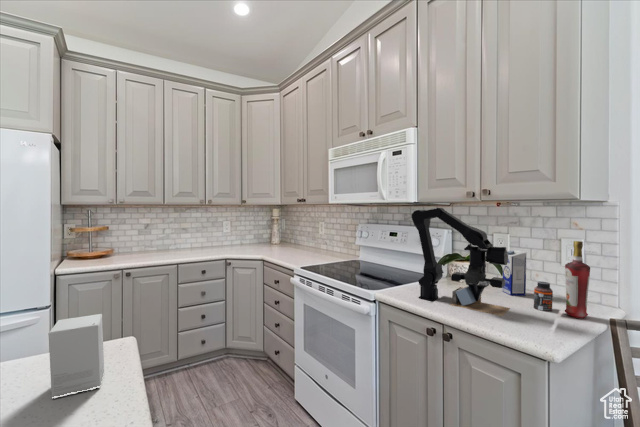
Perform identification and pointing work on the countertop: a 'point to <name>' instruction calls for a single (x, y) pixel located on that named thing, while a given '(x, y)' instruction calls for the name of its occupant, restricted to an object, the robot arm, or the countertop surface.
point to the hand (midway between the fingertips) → (477, 300)
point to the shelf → (479, 305)
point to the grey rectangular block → (465, 295)
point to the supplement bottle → (543, 297)
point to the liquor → (577, 284)
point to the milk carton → (515, 273)
